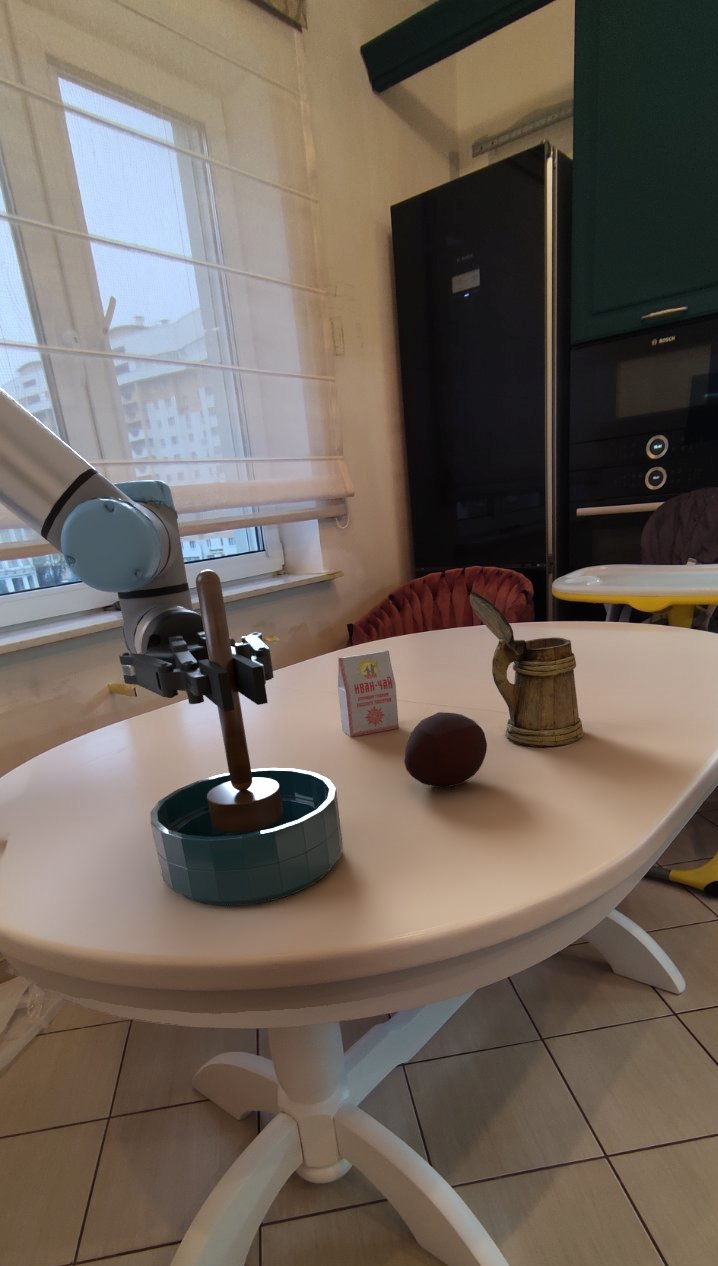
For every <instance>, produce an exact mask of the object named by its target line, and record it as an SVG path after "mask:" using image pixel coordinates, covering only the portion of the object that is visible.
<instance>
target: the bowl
mask: <svg viewBox="0 0 718 1266" xmlns="http://www.w3.org/2000/svg"><path fill="white" fill-rule="evenodd" d="M251 772H252V778H255V777H259V778H269V779H272V780H275V781H277V782H278V783H279V785H280V791H281V798H282V805H283V812H284V813H283V816H282V818H281V819H280V820H279V821H277V822H276V823H274V824H272V825H270V826H268V827H265V828H262V829H259V830H255V831H250V832H241V833H230V832H223V831H219V830H217V829H215V828H214V827H213V825H212V822H211V817H210V811H209V806H208V801H207V794H208V792H209V791H210V790H212V789H213V788H215V787H216V786H218V785H221V784H223V783H226V782H229V781H230V776H229V772H227V773H222V774H218V775H213V776H210V777H207V778H203V779H200V780H197V781H194V782H192V783H189V784H187V785H185V786H182V787H180V788H177V789H175V790H173V791H172V792H170V793H169V794H168V795H166V796H165V797H163V798H161V799H160V800H158V802H157V803H156V804H155V806H154V807H153V808H152V809H151V810H150V812H149V813H150V815H149V816H150V826H151V831H152V836H153V840H154V845H155V849H156V854H157V858H158V863H159V868H160V873H161V876H162V880H163V882H164V883H165V884H166V885H167V886H168V887H169V888H170V889H171V890H172V891H173V892H175V893H177V894H180V895H182V896H184V897H186V898H187V899H190V900H192V901H195V902H197V903H202V904H208V905H213V906H246V905H247V906H248V905H254V904H260V903H265V902H271V901H274V900H277V899H282V898H284V897H287V896H290V895H293V894H295V893H298V892H300V891H303V890H304V889H306V888H308V887H310V886H312V885H313V884H315V883H316V882H318V881H320V880H321V879H322V878H324V876H326V874H327V873H328V872H329V871H330V870H331V869H332V868H333V866H334V865H335V864H336V863H337V862H338V860H339V859H340V858H341V857H342V850H343V837H342V827H341V817H340V809H339V801H338V791H337V787H336V786H335V785H334V783H333V782H332V781H331V780H330V778H327V777H325V776H323V775H321V774H319V773H317V772H314V771H308V770H304V769H298V768H280V767H279V768H278V767H269V768H267V767H266V768H254V769H251Z"/></svg>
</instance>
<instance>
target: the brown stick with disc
mask: <svg viewBox="0 0 718 1266" xmlns="http://www.w3.org/2000/svg"><path fill="white" fill-rule="evenodd" d="M195 587H196V592H197V598H198V604H199V609H200V615H201V616H202V622H203V627H204V633H205V639H206V644H207V650H208V656H209V661H211V662H213V663H214V664H216V665H218V666H219V667H221V668H222V669H224V670H226V671H227V672H228V674H229V680H230V686H231V692H232V698H233V704H234V710H230V711H225V712H224V711H223V710H222V709H220V708H219V707H218V706H217V705H216V706H217V712H218V718H219V723H220V729H221V733H222V734H221V735H222V741H223V747H224V753H225V758H226V762H227V764H226V765H227V770H228V773H229V776H230V781H229V782H226V783H223V784H221V785H218V786H216V787H215V788H213V789H212V790H210V791H209V792H208V794H207V801H208V806H209V811H210V817H211V822H212V825H213V827H214V828H215V829H217V830H219V831H223V832H230V833H241V832H250V831H255V830H259V829H262V828H265V827H268V826H270V825H272V824H274V823H276V822H277V821H279V820H280V819H281V818H282V816H283V813H284V812H283V805H282V798H281V791H280V785H279V783H278V782H277V781H275V780H272V779H269V778H259V777H255V778H252V772H251V770H252V766H251V760H250V754H249V748H248V741H247V737H246V736H247V735H246V730H245V723H244V718H243V711H242V704H241V699H240V693H239V692H238V686H237V680H236V674H235V668H234V662H233V655H232V649H231V643H230V637H231V636H230V631H229V625H228V619H227V613H226V608H225V607H226V606H225V601H224V595H223V590H222V581H221V578H220V576H219V574H217V572H216V571H213V570H211V569H205V570H201V571H200V572H199V573H198V574H197V576H196V578H195Z"/></svg>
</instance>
